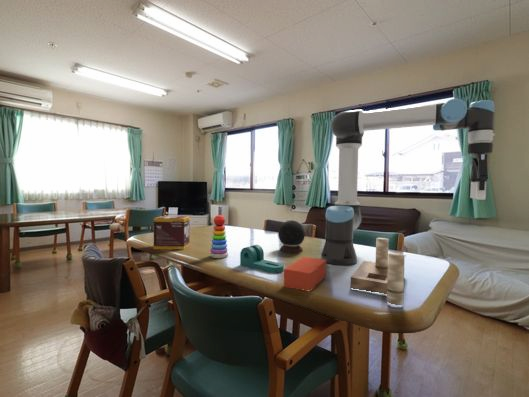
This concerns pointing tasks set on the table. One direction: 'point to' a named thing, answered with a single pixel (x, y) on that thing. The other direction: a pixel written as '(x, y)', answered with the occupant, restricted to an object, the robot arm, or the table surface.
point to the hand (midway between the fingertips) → (477, 198)
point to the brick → (304, 273)
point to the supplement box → (171, 232)
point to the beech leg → (395, 278)
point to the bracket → (258, 260)
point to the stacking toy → (219, 239)
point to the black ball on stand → (291, 236)
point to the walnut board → (373, 271)
